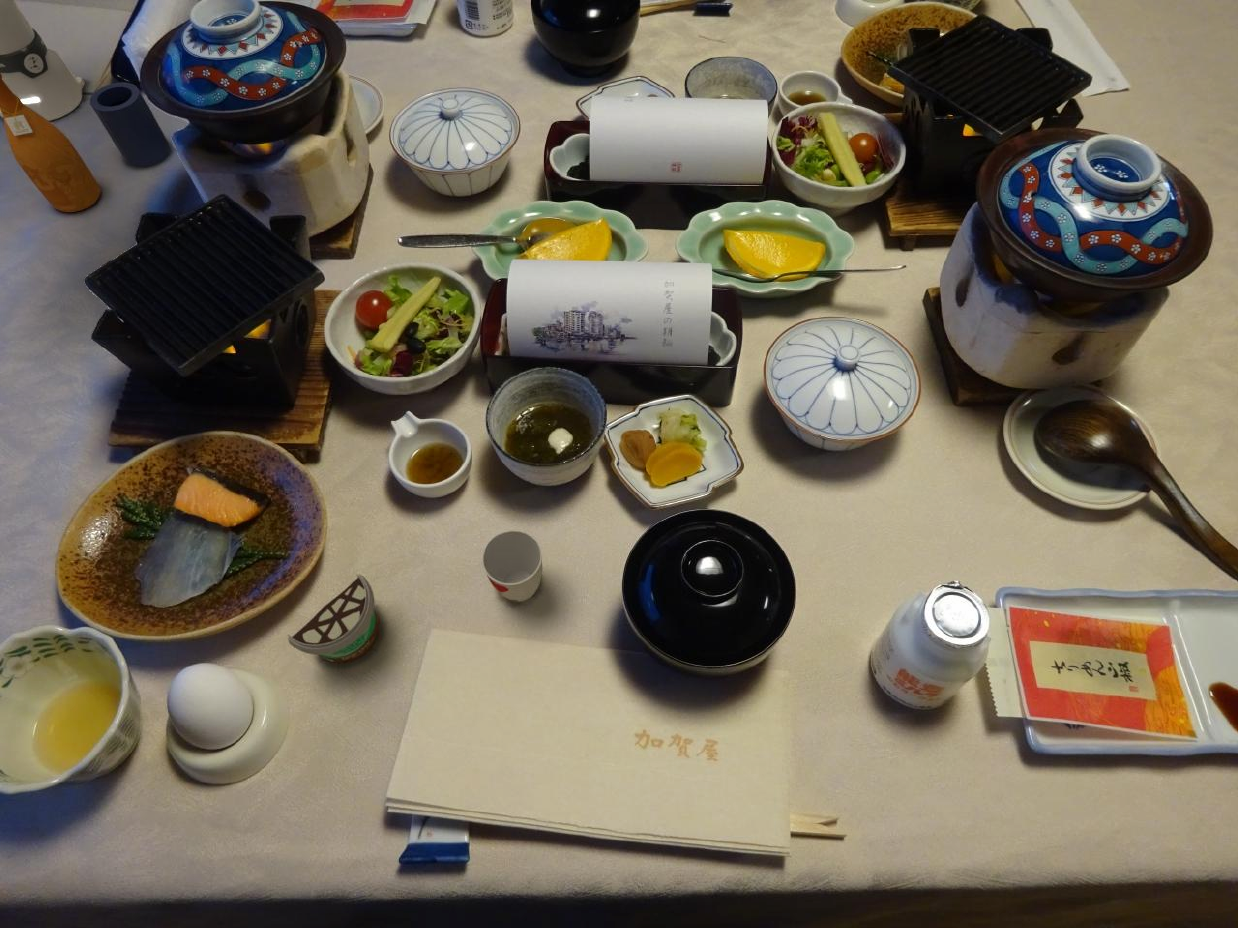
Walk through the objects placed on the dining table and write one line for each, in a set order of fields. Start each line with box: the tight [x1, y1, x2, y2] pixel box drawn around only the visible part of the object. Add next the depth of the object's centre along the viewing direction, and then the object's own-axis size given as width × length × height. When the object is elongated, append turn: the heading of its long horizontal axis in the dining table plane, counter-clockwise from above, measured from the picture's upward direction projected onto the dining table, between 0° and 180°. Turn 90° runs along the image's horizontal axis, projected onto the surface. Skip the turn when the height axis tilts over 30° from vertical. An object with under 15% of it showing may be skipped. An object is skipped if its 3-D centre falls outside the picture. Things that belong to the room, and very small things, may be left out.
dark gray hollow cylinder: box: [89, 82, 172, 169], centre depth 160 cm, size 9×9×13 cm
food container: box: [287, 573, 380, 664], centre depth 106 cm, size 12×6×10 cm, turn 139°
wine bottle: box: [0, 73, 101, 213], centre depth 145 cm, size 10×10×30 cm
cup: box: [481, 529, 543, 603], centre depth 111 cm, size 8×8×10 cm
